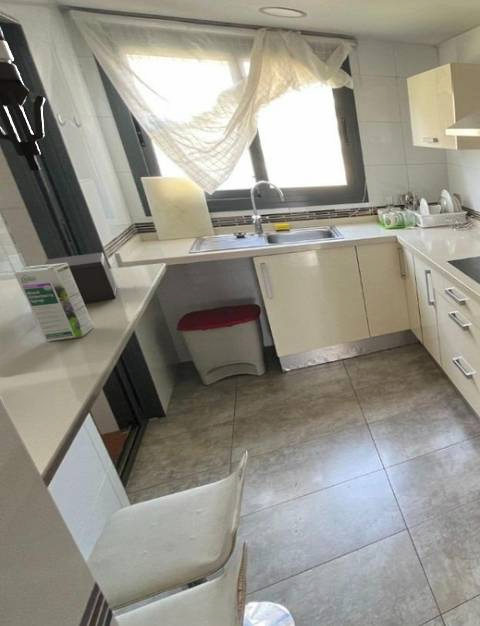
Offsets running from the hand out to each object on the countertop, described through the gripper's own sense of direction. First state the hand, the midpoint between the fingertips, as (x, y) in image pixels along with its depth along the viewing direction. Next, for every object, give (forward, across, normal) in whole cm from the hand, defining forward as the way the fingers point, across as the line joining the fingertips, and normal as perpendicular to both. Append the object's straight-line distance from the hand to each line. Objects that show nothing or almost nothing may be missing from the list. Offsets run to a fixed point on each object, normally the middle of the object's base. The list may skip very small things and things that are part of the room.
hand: (35, 169), depth 113 cm
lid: (+22, -2, +13) cm, 25 cm away
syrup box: (+31, 0, +43) cm, 53 cm away
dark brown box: (+30, -2, +13) cm, 33 cm away
